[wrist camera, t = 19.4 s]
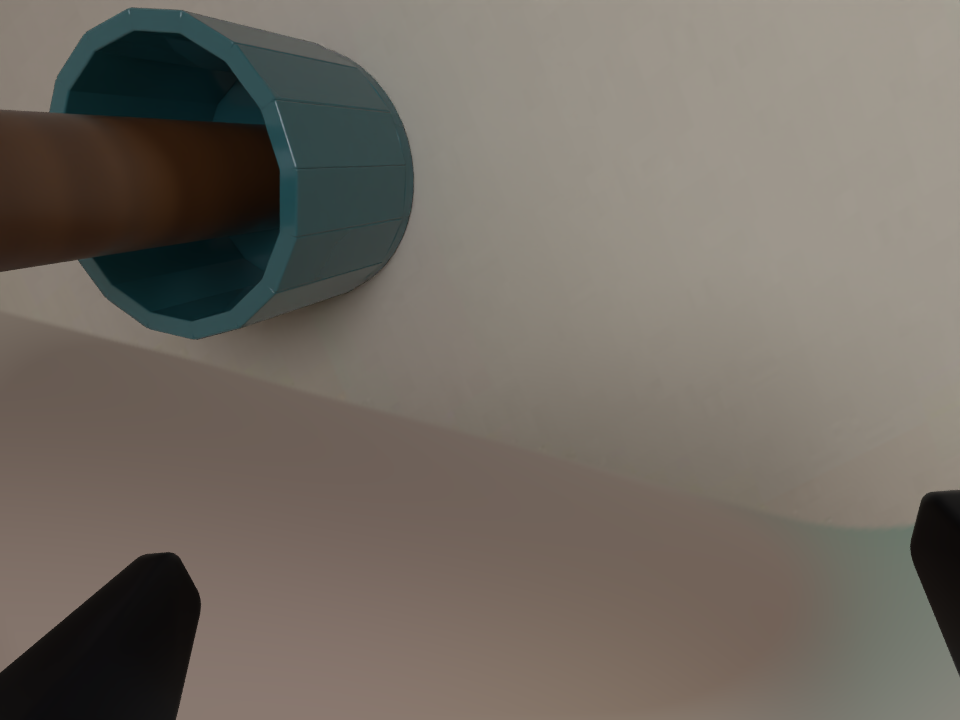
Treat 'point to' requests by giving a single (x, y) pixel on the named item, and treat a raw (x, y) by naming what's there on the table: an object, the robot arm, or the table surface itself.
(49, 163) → the dowel
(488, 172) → the table surface
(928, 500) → the robot arm
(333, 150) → the cup
